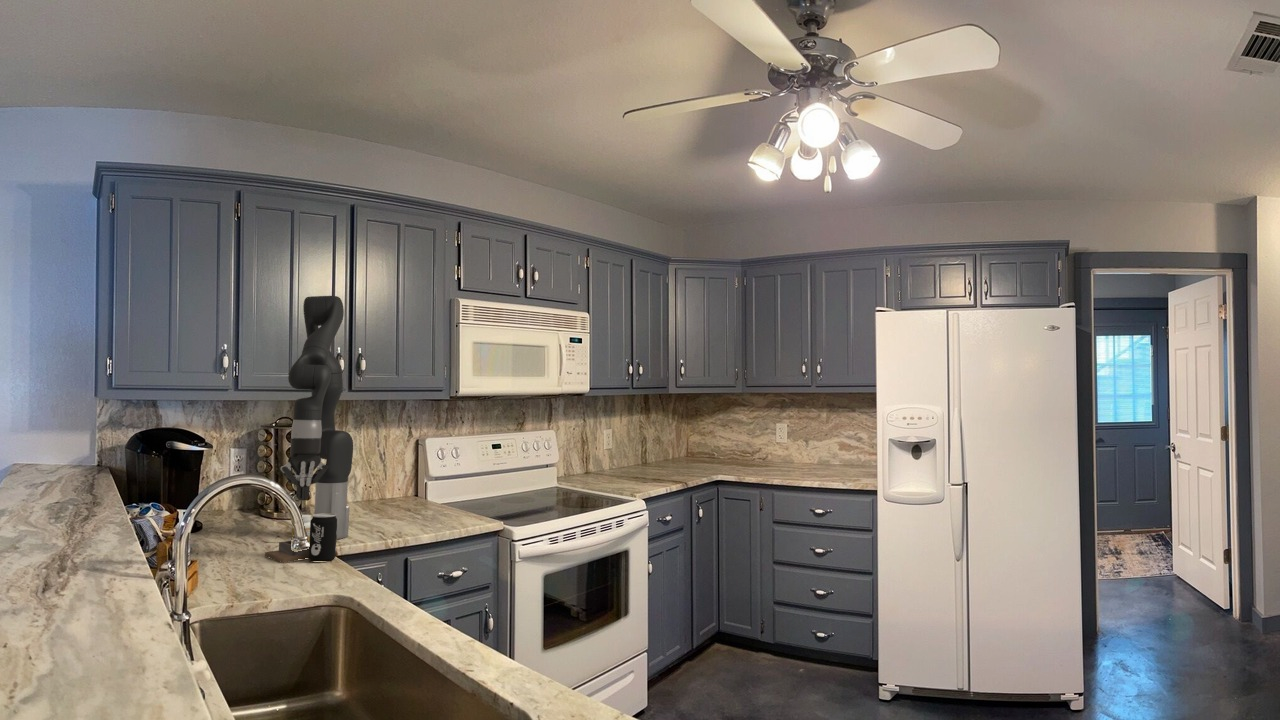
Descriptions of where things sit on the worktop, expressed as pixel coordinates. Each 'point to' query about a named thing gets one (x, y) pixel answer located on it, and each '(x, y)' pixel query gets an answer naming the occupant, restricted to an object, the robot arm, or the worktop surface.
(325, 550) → the beverage can
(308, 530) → the supplement bottle
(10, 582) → the worktop surface
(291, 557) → the bottle holder
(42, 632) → the worktop surface
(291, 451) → the robot arm
